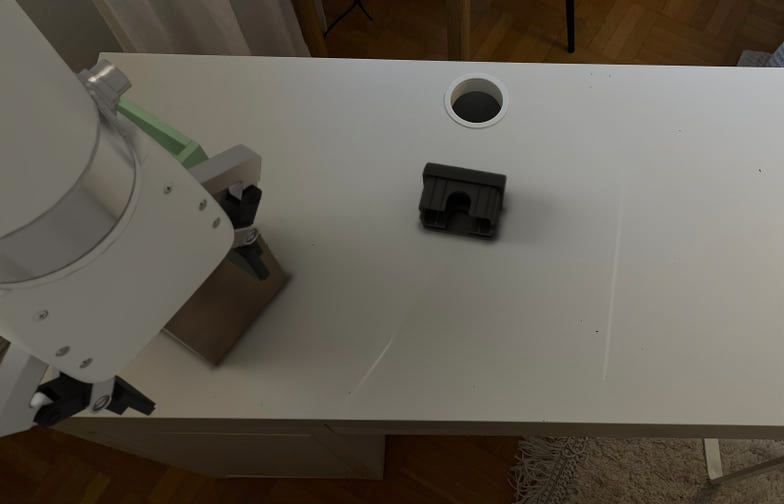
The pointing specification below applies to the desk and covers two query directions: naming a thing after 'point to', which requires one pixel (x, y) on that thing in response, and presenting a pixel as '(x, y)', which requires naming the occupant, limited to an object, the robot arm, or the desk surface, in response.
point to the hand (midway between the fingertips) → (194, 328)
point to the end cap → (461, 200)
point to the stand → (224, 305)
